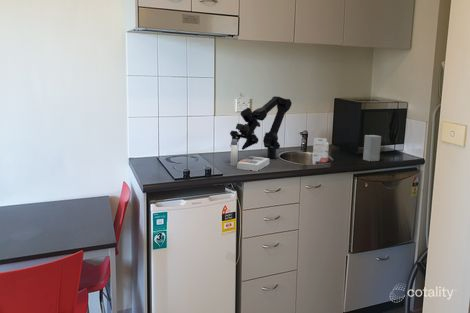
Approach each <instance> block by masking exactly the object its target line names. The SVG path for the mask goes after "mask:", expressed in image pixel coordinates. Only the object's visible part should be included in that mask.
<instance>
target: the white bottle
mask: <svg viewBox="0 0 470 313" xmlns="http://www.w3.org/2000/svg"><path fill="white" fill-rule="evenodd" d="M231 141H232V144H231V143H230V145H231V147H230V166H231V167H237V162H239V161H238V159H239V158H238V157H239V155H238V154H239V144H238V142H237V139H232V138H231Z"/></svg>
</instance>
